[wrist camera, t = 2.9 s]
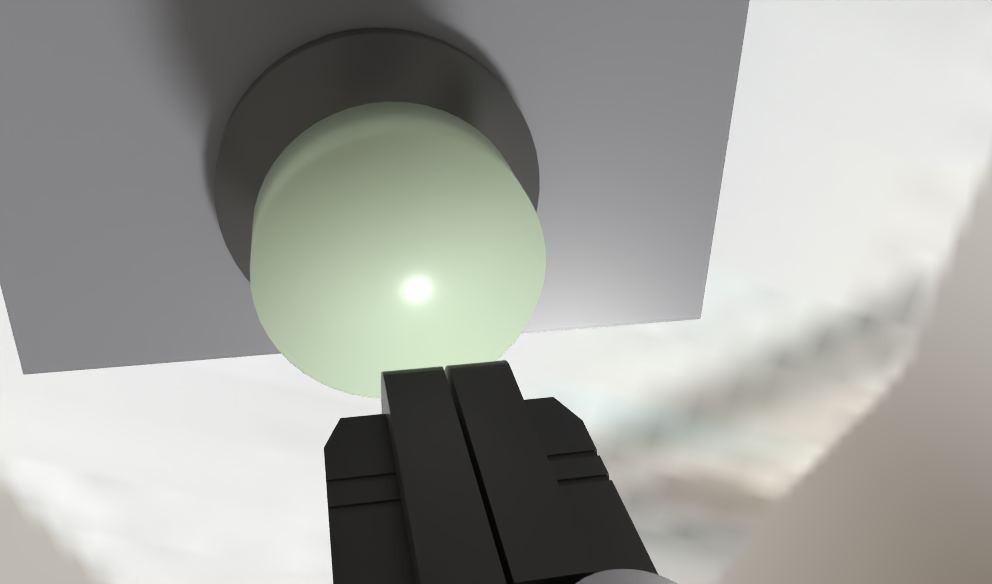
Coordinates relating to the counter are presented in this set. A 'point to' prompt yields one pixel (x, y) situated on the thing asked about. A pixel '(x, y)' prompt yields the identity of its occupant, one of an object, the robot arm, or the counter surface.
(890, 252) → the counter surface
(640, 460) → the counter surface
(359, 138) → the sage button
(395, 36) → the button panel
